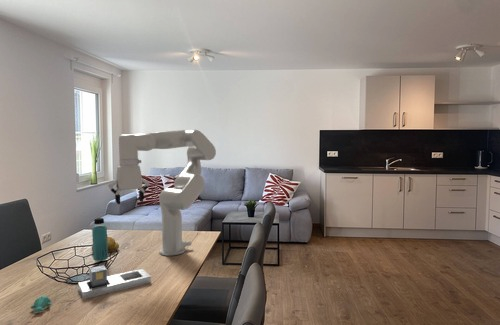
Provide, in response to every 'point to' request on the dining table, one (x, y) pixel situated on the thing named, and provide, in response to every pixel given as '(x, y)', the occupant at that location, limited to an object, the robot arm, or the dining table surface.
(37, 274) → the dining table surface
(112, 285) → the rail
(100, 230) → the beverage bottle
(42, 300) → the whale figurine
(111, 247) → the bread roll
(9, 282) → the dining table surface
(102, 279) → the block
